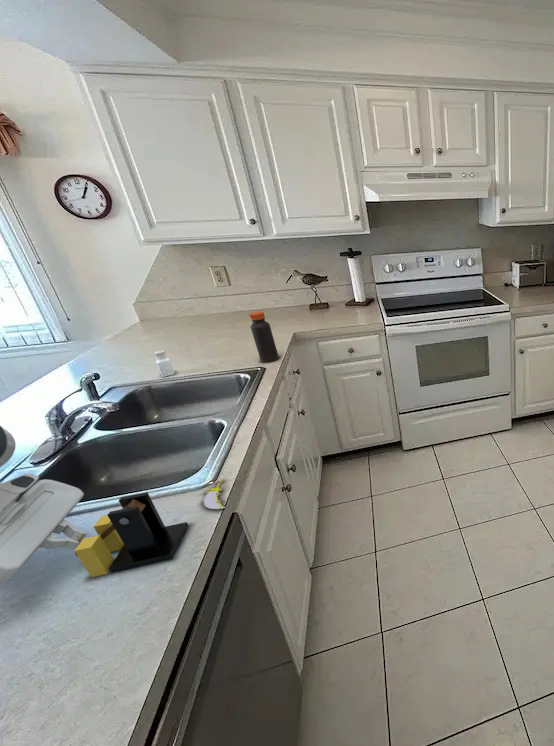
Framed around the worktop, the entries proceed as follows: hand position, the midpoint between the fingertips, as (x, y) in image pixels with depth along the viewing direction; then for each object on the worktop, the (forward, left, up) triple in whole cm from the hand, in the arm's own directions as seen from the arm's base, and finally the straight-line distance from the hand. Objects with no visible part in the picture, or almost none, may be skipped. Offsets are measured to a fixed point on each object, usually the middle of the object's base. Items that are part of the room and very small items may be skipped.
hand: (81, 541), depth 78 cm
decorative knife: (+18, +13, -5) cm, 23 cm away
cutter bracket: (+10, 0, -5) cm, 11 cm away
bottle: (+14, +101, -5) cm, 102 cm away
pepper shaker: (-22, +98, -5) cm, 101 cm away
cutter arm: (+6, 0, 0) cm, 6 cm away
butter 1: (+3, +3, -5) cm, 7 cm away
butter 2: (+3, -3, -5) cm, 7 cm away
